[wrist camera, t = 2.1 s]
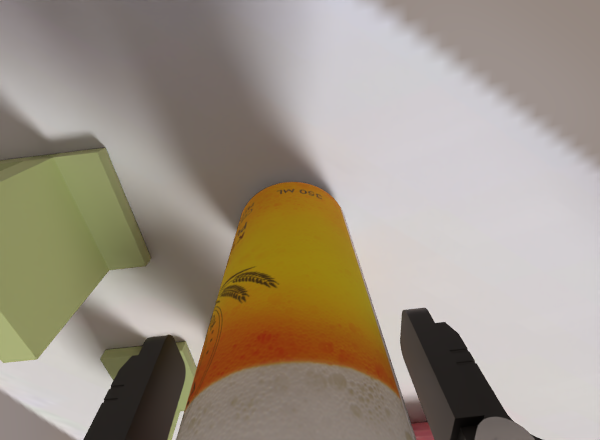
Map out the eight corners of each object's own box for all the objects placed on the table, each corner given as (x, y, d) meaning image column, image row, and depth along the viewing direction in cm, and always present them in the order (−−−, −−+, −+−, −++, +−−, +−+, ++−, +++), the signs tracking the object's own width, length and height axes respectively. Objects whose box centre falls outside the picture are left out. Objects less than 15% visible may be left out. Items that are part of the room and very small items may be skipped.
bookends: (105, 147, 16) (-6, 208, 10) (209, 399, 27) (185, 504, 20) (-8, 161, 17) (-184, 229, 10) (139, 405, 27) (94, 512, 21)
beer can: (228, 187, 18) (44, 604, 4) (336, 166, 17) (490, 556, 4) (255, 272, 20) (193, 679, 7) (349, 256, 20) (461, 656, 7)
